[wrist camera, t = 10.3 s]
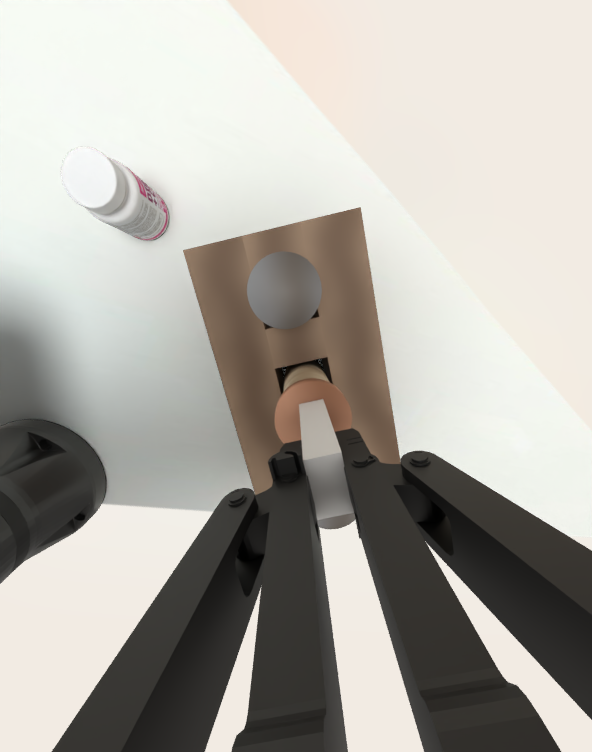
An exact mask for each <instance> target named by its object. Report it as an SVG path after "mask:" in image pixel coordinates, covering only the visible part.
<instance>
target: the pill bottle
mask: <svg viewBox="0 0 592 752" xmlns="http://www.w3.org/2000/svg"><path fill="white" fill-rule="evenodd" d="M61 178H62V183H63V186H64V188H65V190H66V192H67V193H68V194H69V196H70V197H71V198H72V199H73V200H74V201H75V202H77V203H78V204H80V205H81V206H83V207H85V208H86V209H87V210H88V211H89V212H90V213H91V214H92V215H93V216H94V217H96V218H97V219H99V220H101V221H102V222H105V223H107V224H109V225H111V226H113V227H115V228H118V229H120V230H122V231H124V232H126V233H128V234H130V235H132V236H134V237H136V238H138V239H142V240H154V239H156V238H158V237H160V236H161V235H162V234H163V233H164V232H165V230H166V228H167V226H168V221H169V215H168V210H167V207H166V205H165V203H164V201H163V200H162V198H161V197H160V196H159V195H158V194H157V193H156V192H154V191H153V190H152V189H151V188H150V187H149V186H148V185H147V184H145V183H144V182H143V181H142V180H141V179H140V178H138V177H137V176H136V175H135V174H134V173H133V172H132V171H131V170H130V169H128V168H127V167H126V166H124V165H123V164H122V163H120V162H118V161H116V160H114V159H110V158H108V157H107V156H105V155H104V154H103V153H102V152H100V151H98V150H97V149H94V148H91V147H77V148H75V149H73V150H71V151H70V152H69V153H68V154H67V155H66V156H65V158H64V160H63V162H62V166H61Z"/></svg>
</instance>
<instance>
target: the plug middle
mask: <svg viewBox="0 0 592 752" xmlns="http://www.w3.org/2000/svg"><path fill="white" fill-rule="evenodd" d="M320 399H323V400H324V403H325V406H326V409H327V412H328V414H329V417H330V420H331V423H332V426H333V429H334V432H336V431H341V430H346V429H350V428H351V425H352V412H351V408H350V406H349V403H348V402H347V400H346V398H345V397H344V395H343V393H342V392H341V391H340V390H339V389H338V388H337V387H336V386H335V385H333V384H332V383H330V382H329V380H328V378H327V376H326V374H325V372H324V371H323V369H322V367H321V365H320V364H319V363H318V362H317V361H316V360H312V361H307V362H303V363H298V364H294V365H289V366H287V368H286V371H285V380H284V391H283V393H282V394H281V396H280V398H279V400H278V402H277V405H276V411H275V419H274V421H275V429H276V432H277V434H278V436H279V438H280V440H281V441H282V442H283V443H289V442H293V441H298V440H301V427H300V413H299V404H302V403H307V402H311V401H316V400H320Z"/></svg>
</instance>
